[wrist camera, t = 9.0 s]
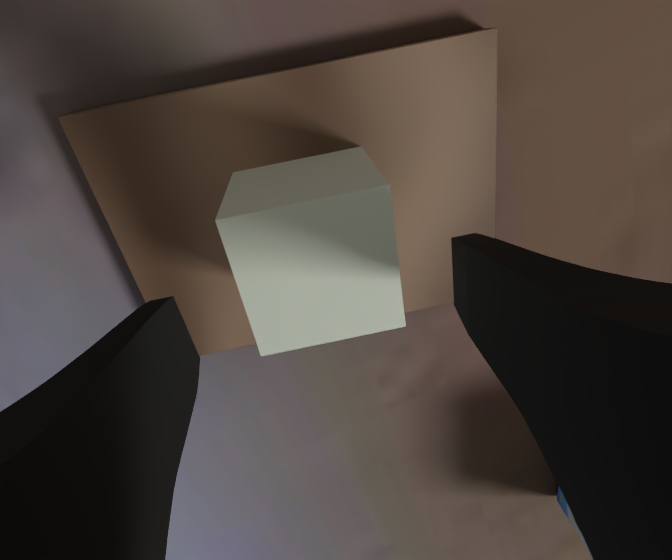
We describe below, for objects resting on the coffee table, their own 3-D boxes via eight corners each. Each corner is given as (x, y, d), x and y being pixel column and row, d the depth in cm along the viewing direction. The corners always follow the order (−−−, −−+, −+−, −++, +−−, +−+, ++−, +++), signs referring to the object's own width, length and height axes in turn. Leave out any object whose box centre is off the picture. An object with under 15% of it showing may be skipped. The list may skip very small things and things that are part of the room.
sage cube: (265, 283, 17) (261, 356, 13) (233, 172, 15) (214, 220, 11) (377, 260, 17) (405, 326, 13) (361, 146, 15) (389, 184, 11)
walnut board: (178, 346, 19) (173, 360, 18) (71, 112, 14) (57, 117, 13) (484, 282, 19) (493, 294, 18) (484, 28, 14) (497, 27, 13)
